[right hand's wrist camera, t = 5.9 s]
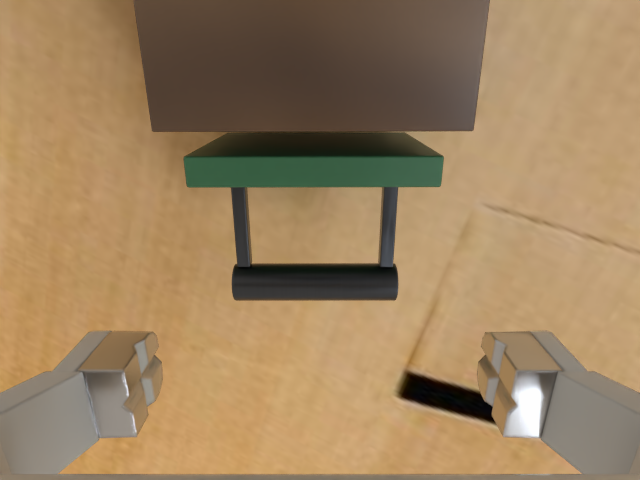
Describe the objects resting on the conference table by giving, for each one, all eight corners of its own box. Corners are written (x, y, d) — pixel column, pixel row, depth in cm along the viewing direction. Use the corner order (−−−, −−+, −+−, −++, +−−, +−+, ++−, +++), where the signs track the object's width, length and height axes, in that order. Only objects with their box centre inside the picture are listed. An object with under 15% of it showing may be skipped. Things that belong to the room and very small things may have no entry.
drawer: (397, 252, 25) (427, 320, 18) (236, 252, 25) (202, 320, 18) (423, -124, 19) (486, -253, 11) (205, -123, 19) (133, -250, 12)
